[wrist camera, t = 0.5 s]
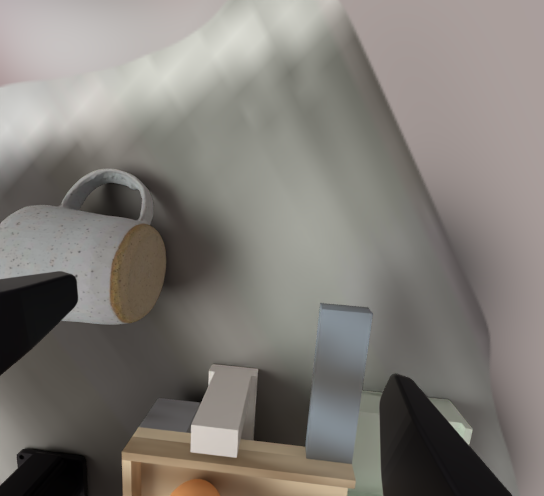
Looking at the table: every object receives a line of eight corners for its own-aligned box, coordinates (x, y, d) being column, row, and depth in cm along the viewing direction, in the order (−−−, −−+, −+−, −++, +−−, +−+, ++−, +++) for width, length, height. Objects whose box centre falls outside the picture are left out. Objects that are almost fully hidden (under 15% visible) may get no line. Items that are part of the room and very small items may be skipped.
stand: (250, 486, 25) (237, 581, 19) (208, 481, 26) (180, 573, 19) (258, 368, 23) (246, 431, 17) (212, 363, 24) (183, 423, 17)
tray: (429, 499, 24) (448, 540, 21) (327, 486, 25) (332, 525, 22) (449, 399, 23) (472, 429, 20) (339, 388, 23) (346, 415, 20)
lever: (331, 491, 23) (343, 569, 18) (158, 469, 24) (124, 538, 19) (357, 292, 20) (378, 321, 15) (158, 275, 21) (117, 297, 16)
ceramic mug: (170, 305, 23) (112, 353, 15) (77, 294, 23) (-24, 336, 16) (176, 176, 21) (114, 159, 14) (76, 167, 22) (-38, 145, 14)
